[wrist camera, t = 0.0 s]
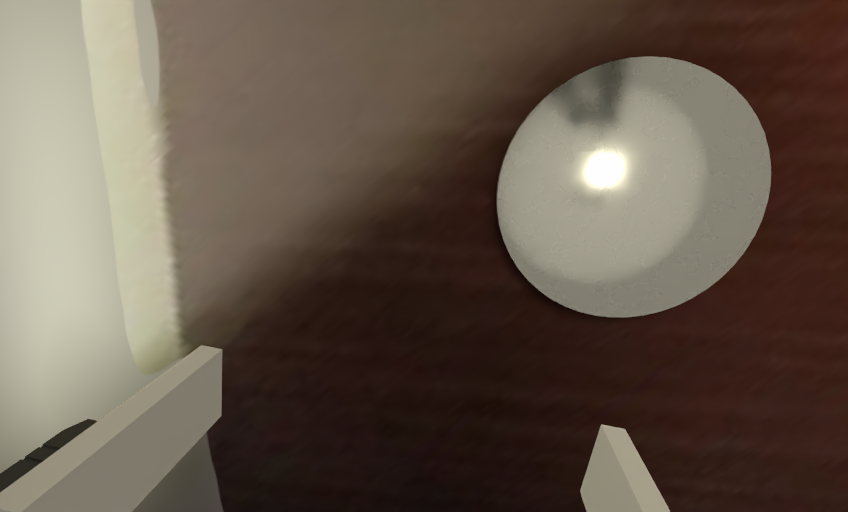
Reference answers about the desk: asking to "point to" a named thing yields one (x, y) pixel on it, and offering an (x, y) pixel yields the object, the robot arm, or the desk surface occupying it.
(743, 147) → the base
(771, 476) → the desk surface
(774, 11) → the desk surface
